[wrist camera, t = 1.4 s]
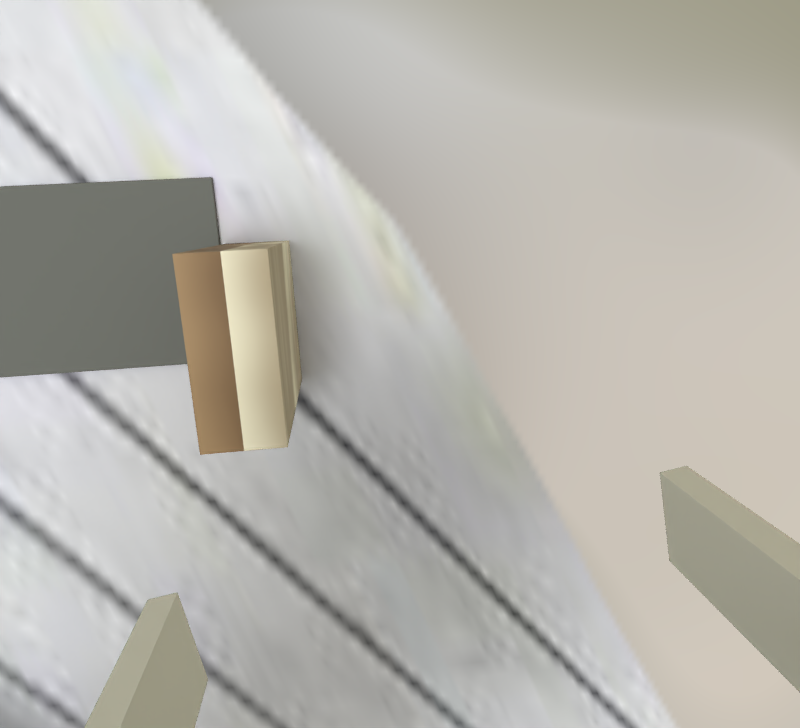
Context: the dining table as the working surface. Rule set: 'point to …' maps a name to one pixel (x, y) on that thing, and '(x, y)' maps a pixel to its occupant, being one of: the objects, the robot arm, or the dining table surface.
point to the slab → (240, 343)
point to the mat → (97, 272)
